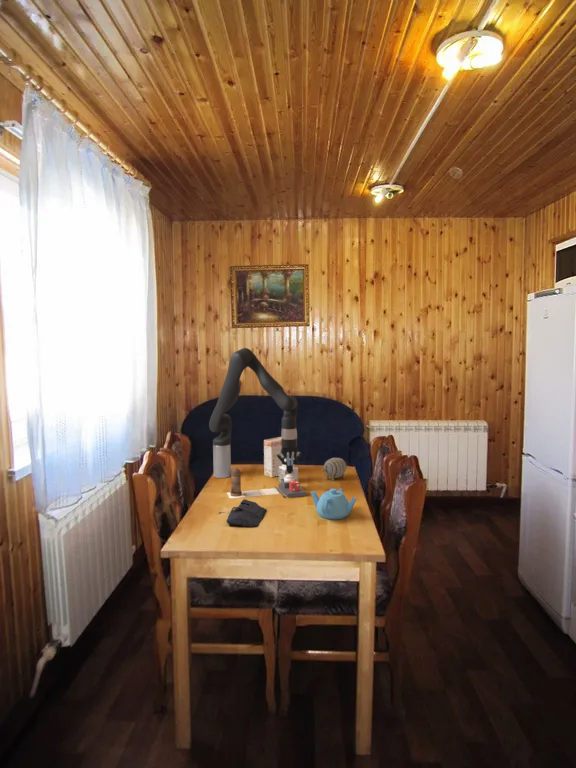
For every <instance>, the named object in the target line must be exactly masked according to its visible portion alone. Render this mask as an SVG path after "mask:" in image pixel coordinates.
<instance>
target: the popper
mask: <svg viewBox="0 0 576 768" xmlns="http://www.w3.org/2000/svg"><path fill="white" fill-rule="evenodd" d="M278 489H279V491H280V492H281V493H282V494H283V495H284V494H285V495H286V496H287V497H292V498H299V497H298V496H303V497H307V491H306V490H305V489H304V488H303V487H302V486H301V483H300V481H299V479H298V480H296V479H295V481H289V483H285V482H284V479H281V482H280V483H278ZM285 495H284V496H285ZM286 496H285V497H286ZM287 497H286V498H287Z"/></svg>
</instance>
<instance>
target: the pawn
mask: <svg viewBox="0 0 576 768" xmlns="http://www.w3.org/2000/svg"><path fill="white" fill-rule="evenodd" d="M241 479H242V475H241V469H240V468H238V467H233V468H231V476H230V486H231V487H230V488H231V489H230V495H231V496H235V497H236V496H241V495H242V492H243V491H242V487H241V486H242V483H241V482H242V481H241ZM241 491H242V492H241Z"/></svg>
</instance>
